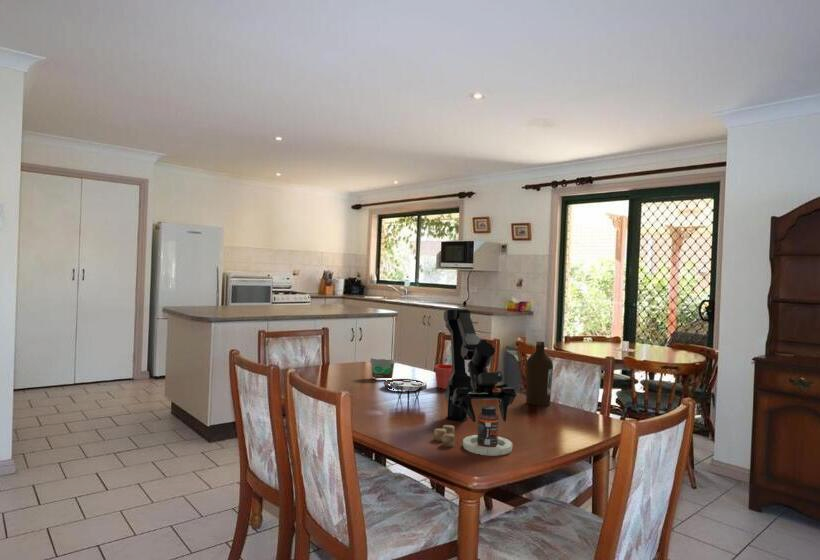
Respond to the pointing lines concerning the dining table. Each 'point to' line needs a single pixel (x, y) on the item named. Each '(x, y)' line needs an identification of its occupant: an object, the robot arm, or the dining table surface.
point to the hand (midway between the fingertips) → (489, 421)
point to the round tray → (501, 449)
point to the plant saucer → (396, 380)
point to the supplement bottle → (487, 427)
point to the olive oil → (539, 377)
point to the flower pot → (443, 375)
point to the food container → (382, 368)
